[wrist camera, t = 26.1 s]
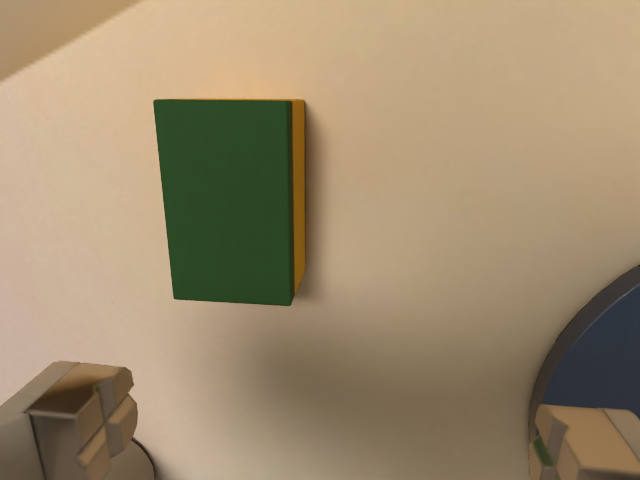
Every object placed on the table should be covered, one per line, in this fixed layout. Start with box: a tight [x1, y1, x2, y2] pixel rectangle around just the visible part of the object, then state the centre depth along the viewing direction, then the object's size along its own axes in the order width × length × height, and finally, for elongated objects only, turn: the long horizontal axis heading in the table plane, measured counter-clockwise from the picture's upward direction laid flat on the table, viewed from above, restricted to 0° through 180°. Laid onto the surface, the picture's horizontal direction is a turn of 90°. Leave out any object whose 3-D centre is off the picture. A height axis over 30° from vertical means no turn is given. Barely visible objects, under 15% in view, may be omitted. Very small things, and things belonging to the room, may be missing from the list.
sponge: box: [153, 99, 305, 306], centre depth 19 cm, size 8×5×4 cm, turn 0°
